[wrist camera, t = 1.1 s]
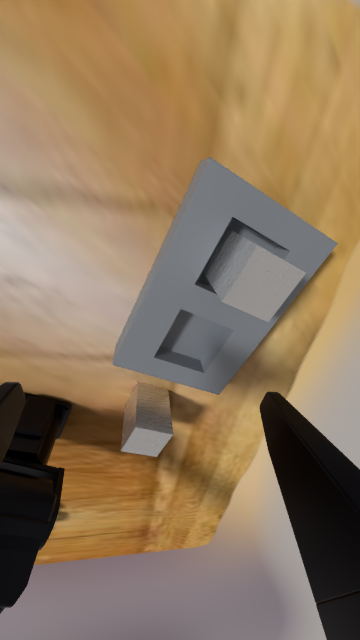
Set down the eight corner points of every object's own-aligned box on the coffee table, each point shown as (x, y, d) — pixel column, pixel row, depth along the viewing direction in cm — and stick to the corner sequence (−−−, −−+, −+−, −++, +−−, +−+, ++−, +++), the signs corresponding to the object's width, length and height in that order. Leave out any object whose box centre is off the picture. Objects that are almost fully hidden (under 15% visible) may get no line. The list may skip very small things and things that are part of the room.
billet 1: (154, 410, 30) (156, 456, 25) (125, 403, 29) (120, 451, 24) (168, 389, 29) (173, 434, 24) (137, 381, 27) (135, 427, 22)
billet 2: (239, 289, 22) (268, 322, 17) (202, 271, 20) (221, 301, 15) (265, 249, 20) (306, 272, 15) (227, 227, 19) (258, 245, 14)
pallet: (212, 375, 28) (218, 394, 26) (115, 345, 24) (112, 364, 22) (314, 235, 21) (337, 243, 18) (200, 161, 17) (210, 157, 15)
